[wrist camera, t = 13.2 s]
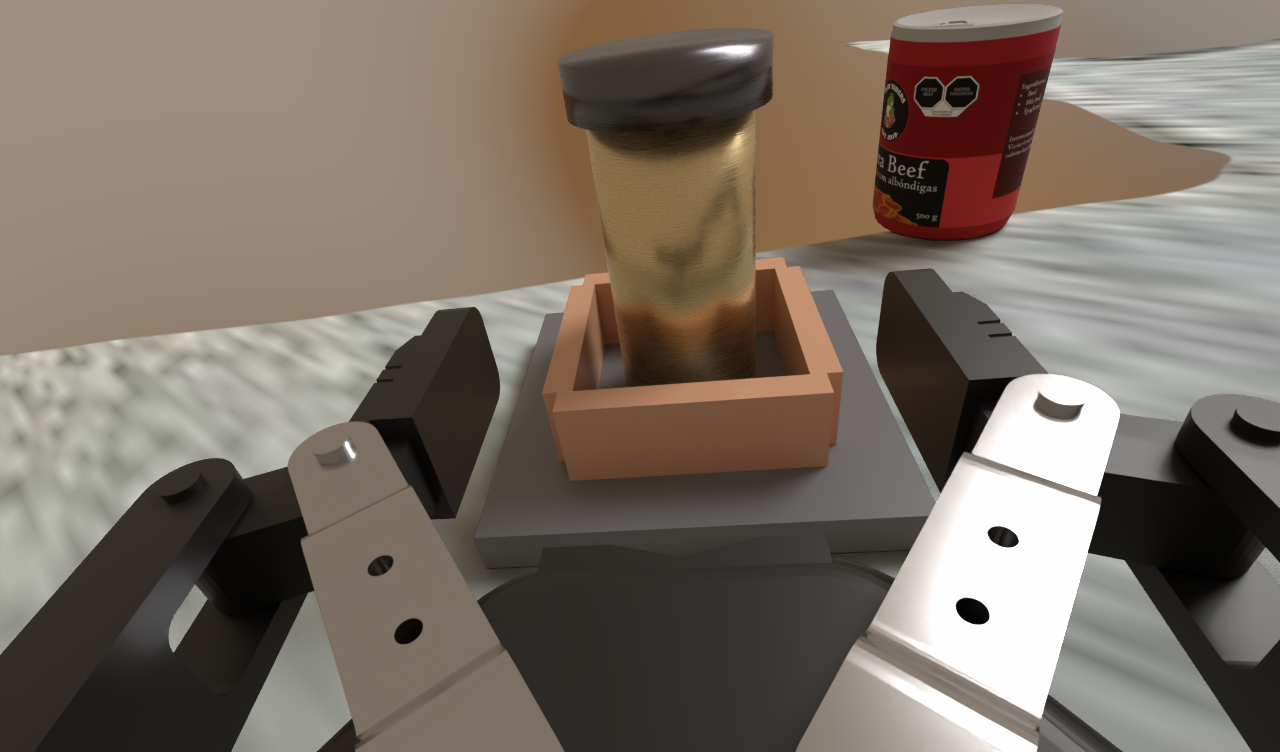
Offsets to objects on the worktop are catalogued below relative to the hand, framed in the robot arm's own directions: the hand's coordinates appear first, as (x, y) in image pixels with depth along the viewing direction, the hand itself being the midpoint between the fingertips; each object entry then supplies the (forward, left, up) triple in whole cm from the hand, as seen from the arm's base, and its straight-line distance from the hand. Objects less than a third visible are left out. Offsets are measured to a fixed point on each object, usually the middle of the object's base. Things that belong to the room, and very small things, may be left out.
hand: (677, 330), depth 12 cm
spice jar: (0, -9, -8) cm, 12 cm away
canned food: (-16, -27, -10) cm, 33 cm away
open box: (0, -9, -9) cm, 13 cm away
